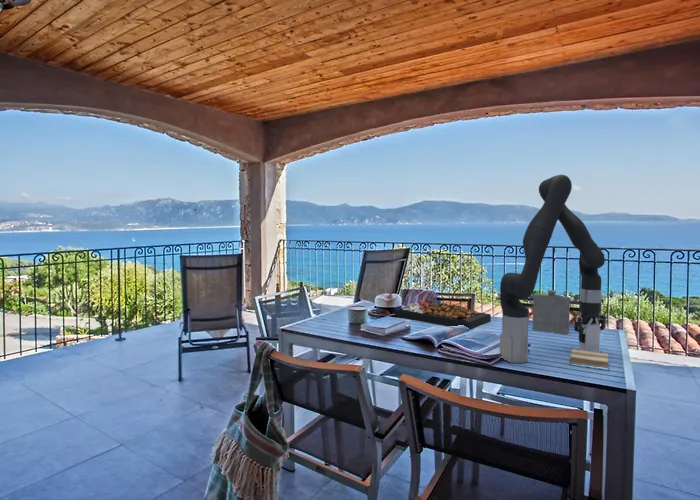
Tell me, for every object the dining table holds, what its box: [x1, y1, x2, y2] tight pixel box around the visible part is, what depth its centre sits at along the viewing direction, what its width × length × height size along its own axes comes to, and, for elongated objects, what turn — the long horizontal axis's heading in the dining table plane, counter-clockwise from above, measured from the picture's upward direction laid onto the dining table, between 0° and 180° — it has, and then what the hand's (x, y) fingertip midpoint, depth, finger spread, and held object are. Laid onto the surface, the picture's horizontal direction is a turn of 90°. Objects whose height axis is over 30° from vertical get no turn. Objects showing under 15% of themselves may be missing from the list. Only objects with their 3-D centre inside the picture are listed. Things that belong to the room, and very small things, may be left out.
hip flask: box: [532, 289, 571, 336], centre depth 205 cm, size 16×4×20 cm, turn 54°
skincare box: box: [578, 324, 601, 352], centre depth 171 cm, size 6×4×12 cm
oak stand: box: [569, 348, 609, 369], centre depth 159 cm, size 12×12×3 cm
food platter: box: [394, 294, 492, 331], centre depth 233 cm, size 45×25×10 cm, turn 47°
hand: (589, 341), depth 171 cm, fingers closed on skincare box, 6 cm apart
